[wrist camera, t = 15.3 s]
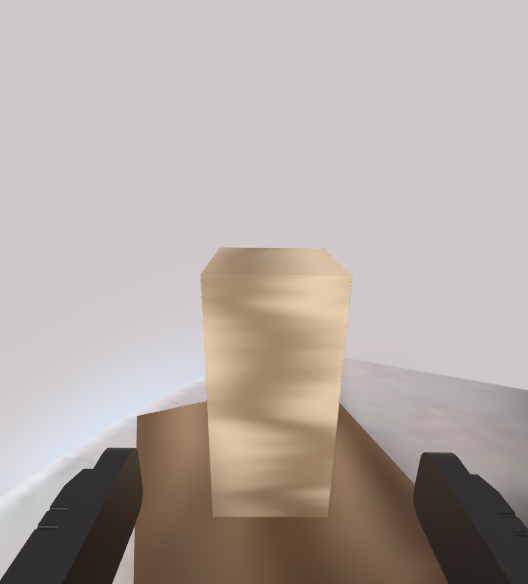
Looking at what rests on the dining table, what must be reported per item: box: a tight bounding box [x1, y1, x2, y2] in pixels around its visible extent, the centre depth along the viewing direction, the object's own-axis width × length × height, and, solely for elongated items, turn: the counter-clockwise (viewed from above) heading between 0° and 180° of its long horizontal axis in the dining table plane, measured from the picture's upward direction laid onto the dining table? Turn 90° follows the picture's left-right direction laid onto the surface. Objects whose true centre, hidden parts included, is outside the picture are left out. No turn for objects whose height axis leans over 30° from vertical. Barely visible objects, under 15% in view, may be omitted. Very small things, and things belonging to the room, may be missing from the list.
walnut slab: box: [134, 402, 448, 584], centre depth 18 cm, size 14×14×3 cm
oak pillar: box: [201, 248, 352, 517], centre depth 16 cm, size 6×6×12 cm
